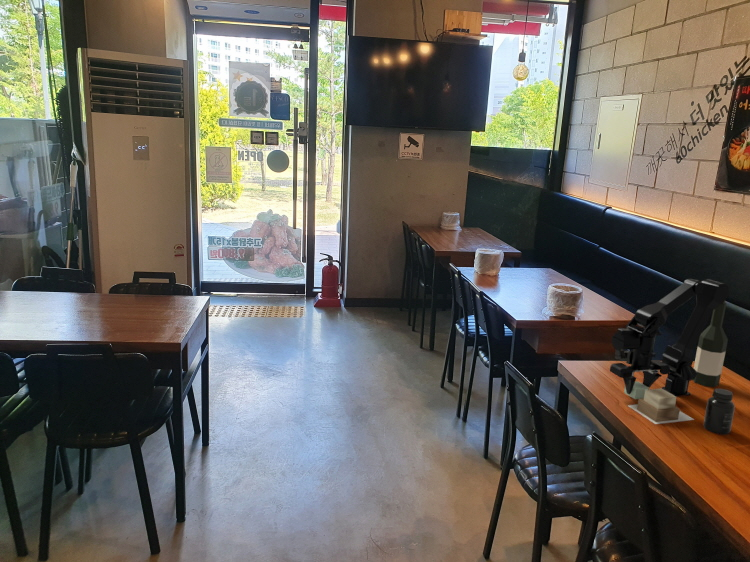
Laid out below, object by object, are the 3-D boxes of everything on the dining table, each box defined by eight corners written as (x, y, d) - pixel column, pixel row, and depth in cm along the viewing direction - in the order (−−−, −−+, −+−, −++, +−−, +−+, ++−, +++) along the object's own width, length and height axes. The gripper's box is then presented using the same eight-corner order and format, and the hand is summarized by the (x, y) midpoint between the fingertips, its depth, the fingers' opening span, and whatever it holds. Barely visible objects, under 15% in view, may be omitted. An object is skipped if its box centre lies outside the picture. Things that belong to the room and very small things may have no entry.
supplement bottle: (726, 426, 165) (734, 389, 162) (732, 437, 158) (740, 398, 156) (700, 422, 167) (707, 385, 164) (705, 432, 161) (712, 394, 158)
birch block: (659, 398, 173) (661, 388, 172) (674, 407, 167) (676, 396, 166) (643, 400, 171) (645, 389, 170) (657, 409, 166) (659, 398, 165)
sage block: (636, 392, 186) (638, 381, 185) (647, 399, 181) (649, 387, 180) (623, 393, 185) (625, 382, 184) (634, 400, 180) (636, 389, 179)
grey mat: (664, 402, 179) (664, 401, 179) (694, 420, 168) (694, 419, 168) (627, 406, 175) (627, 405, 175) (655, 424, 164) (655, 424, 164)
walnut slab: (658, 407, 175) (660, 397, 174) (677, 419, 167) (680, 408, 166) (636, 409, 173) (638, 399, 172) (655, 422, 165) (657, 411, 164)
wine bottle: (719, 381, 198) (735, 299, 190) (718, 389, 191) (735, 304, 183) (692, 375, 202) (707, 295, 195) (690, 383, 195) (706, 300, 188)
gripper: (649, 338, 189) (642, 380, 193) (602, 341, 184) (595, 385, 188) (674, 349, 178) (666, 394, 182) (625, 353, 174) (617, 399, 177)
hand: (636, 393), depth 183 cm, fingers open, 6 cm apart
